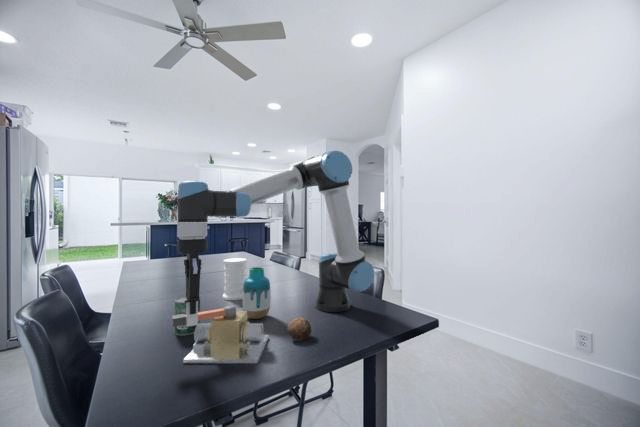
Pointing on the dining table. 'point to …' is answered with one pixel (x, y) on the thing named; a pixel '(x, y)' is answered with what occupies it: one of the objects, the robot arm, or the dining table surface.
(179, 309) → the canned tomato
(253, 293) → the vase
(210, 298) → the dining table surface
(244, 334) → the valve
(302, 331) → the brown round lump
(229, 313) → the lever
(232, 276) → the decorative container
